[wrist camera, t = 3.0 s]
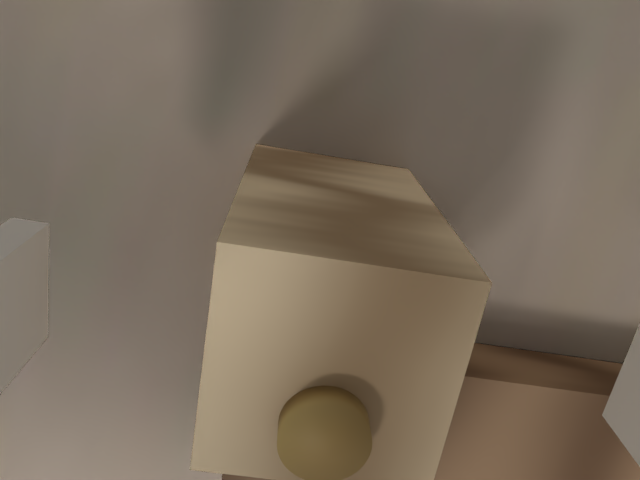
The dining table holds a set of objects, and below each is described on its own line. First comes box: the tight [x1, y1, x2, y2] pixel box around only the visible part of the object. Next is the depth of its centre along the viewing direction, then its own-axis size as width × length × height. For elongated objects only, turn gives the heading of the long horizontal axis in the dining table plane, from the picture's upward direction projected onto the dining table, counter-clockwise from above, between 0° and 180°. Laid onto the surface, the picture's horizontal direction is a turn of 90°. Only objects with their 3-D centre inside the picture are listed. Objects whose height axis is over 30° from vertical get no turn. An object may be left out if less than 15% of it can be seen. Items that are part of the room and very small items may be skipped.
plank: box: [222, 343, 640, 480], centre depth 20 cm, size 24×6×5 cm, turn 80°
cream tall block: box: [190, 144, 492, 480], centre depth 15 cm, size 5×5×10 cm
